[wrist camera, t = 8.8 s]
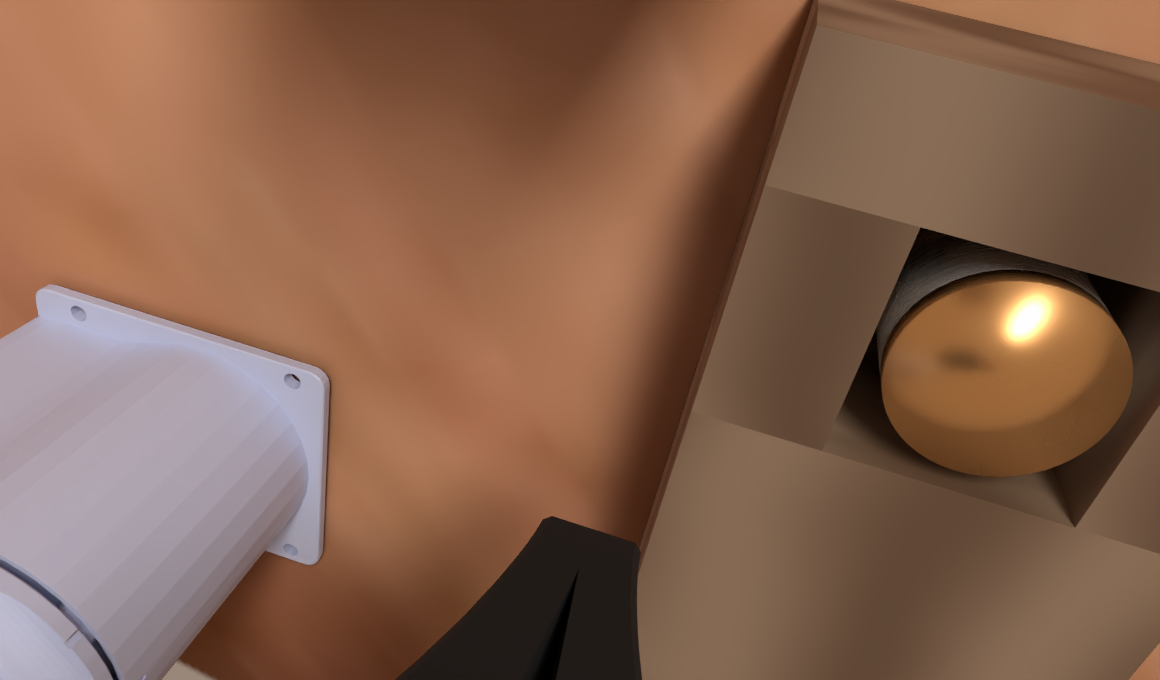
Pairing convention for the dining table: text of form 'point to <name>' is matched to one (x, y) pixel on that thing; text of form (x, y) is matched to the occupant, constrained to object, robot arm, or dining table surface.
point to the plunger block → (853, 386)
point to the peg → (998, 359)
